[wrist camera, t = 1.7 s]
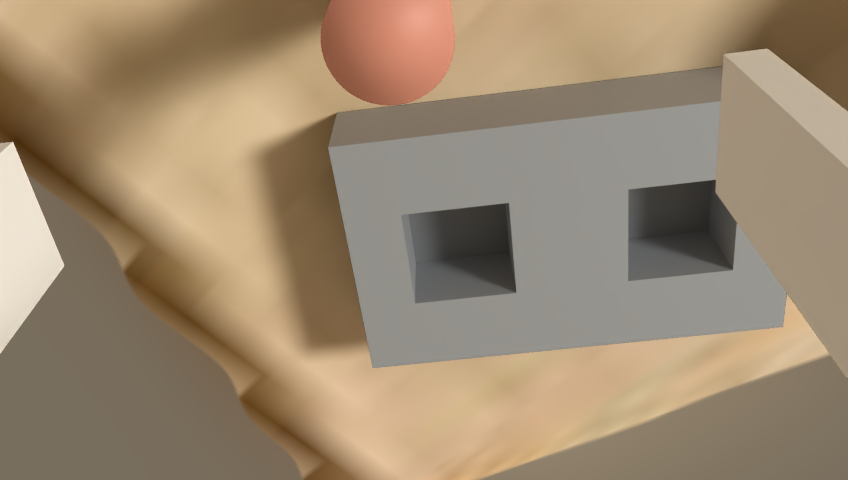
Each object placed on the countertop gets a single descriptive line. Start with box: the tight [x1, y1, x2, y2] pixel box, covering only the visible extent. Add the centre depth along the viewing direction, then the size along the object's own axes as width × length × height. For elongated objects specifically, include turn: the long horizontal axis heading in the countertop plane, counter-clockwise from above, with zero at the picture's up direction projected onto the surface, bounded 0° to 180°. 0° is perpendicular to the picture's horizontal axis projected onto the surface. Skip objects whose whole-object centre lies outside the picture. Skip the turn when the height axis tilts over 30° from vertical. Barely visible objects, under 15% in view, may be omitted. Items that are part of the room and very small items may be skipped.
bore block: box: [328, 66, 787, 368], centre depth 38 cm, size 12×20×4 cm, turn 97°
